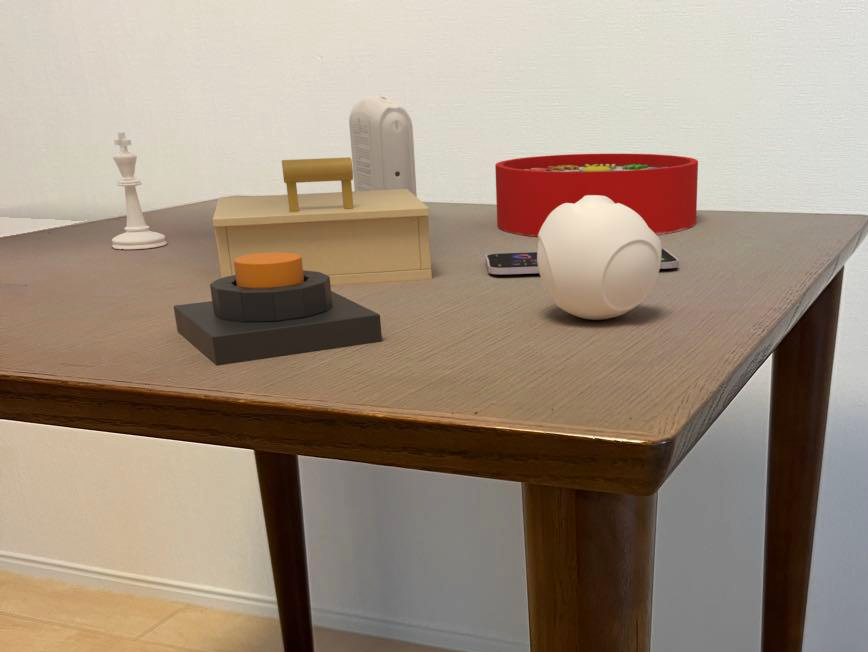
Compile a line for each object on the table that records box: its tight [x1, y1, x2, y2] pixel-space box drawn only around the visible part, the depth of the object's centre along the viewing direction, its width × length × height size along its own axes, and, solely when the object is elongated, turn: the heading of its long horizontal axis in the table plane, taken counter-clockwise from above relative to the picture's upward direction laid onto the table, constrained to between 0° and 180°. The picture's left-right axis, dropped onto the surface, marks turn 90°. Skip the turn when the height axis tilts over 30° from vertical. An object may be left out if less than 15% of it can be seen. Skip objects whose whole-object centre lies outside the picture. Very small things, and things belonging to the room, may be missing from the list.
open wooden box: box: [213, 216, 433, 287], centre depth 87 cm, size 13×16×5 cm
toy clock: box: [494, 153, 699, 237], centre depth 109 cm, size 20×6×20 cm
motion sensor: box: [536, 195, 663, 321], centre depth 69 cm, size 8×8×8 cm
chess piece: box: [111, 132, 168, 251], centre depth 101 cm, size 5×5×10 cm
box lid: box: [212, 157, 430, 228], centre depth 85 cm, size 13×16×4 cm
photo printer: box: [348, 94, 418, 198], centre depth 111 cm, size 10×4×12 cm, turn 27°
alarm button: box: [234, 252, 304, 288], centre depth 66 cm, size 4×4×2 cm
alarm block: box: [173, 270, 383, 367], centre depth 67 cm, size 10×10×4 cm
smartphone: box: [485, 247, 680, 275], centre depth 88 cm, size 8×1×15 cm
